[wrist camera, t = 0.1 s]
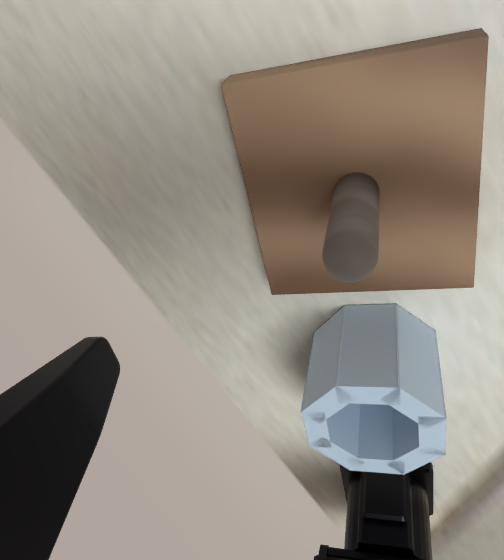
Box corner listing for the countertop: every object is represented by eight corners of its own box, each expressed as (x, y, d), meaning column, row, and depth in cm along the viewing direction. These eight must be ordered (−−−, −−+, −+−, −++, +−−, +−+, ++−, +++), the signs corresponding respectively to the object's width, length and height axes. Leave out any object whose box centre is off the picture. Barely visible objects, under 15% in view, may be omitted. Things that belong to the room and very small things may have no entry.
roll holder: (469, 269, 24) (496, 382, 18) (276, 278, 27) (246, 377, 21) (481, 28, 18) (529, 80, 12) (230, 75, 21) (169, 136, 15)
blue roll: (435, 388, 29) (445, 478, 24) (324, 386, 31) (313, 467, 26) (435, 302, 25) (446, 388, 21) (309, 305, 27) (293, 384, 23)
